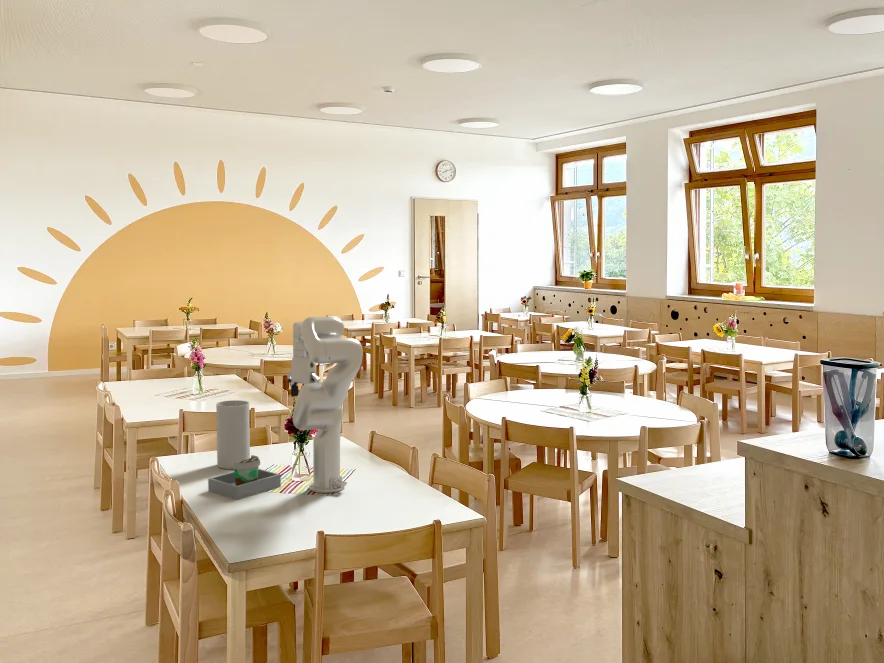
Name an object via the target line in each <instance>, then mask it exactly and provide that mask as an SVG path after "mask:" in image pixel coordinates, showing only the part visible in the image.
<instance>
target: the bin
mask: <svg viewBox="0 0 884 663" xmlns="http://www.w3.org/2000/svg"><path fill="white" fill-rule="evenodd" d="M281 476H282V475H281V474H280V473H277V472H273V471H269V470H265V469H261V468H258V480H256V481H252V482H249V483H245V484H242V485H238V486H236V485H235V473H234V471H233V472H228V473H224V474H220V475H217V476H216V475H215V476H212V477H208V478H207V482H208V483H207V487H208V492H210V493H214V494H217V495H220V496H224V497H227V498H230V499H233V500H241V499H244V498H247V497H250V496H253V495H257V494H261V493H264V492H267V491H271V490H273V489H277V488H278V489H279V488H281V486H282V484H281V481H282V480H281V478H282V477H281Z"/></svg>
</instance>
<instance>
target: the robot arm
mask: <svg viewBox="0 0 884 663" xmlns="http://www.w3.org/2000/svg"><path fill="white" fill-rule="evenodd" d="M344 332H345V324H344V323H343V321H342V320H341V319H340V318H338V317H336V316H308V317H306V318H305V319H304V320H302V321H296V322H294V323H293V325H292V344H293V345H292V354H293V355H292V358H291V366H290V372H288V373H287V374H286V377H287V380H288V383H289V387H290V390H291V391H290V396H291V398H292V397H293V398H294V397H296V402H295V405H294V408H293V412H292V422H293V426H294V427H295V428H296V429H298V430H300V431H306V430H307V431H309V430H317V431H316V433H315V435H314V437H313V442H312V444H313V445H312V448H313V449H312V450H313V451H312V452H313V454H312V456H313V457H312V458H313V459H312V462H313V469H312V472H313V475H312V476H313V478H312V479H313V482H311V483H309V485H308V489H309V490H310V491H311V492H314V493H319V494H320V493H322V494H328V493H329V494H330V493H336V492H341V491H342V490H343V489H345V488H346V486H347V484H348V483H347V481H346V480H345V481H343V476H341V430H342V429H341V428H342V421H343V417H344V411H343V410H344V409H343V407H342V405H344V403H345V400H346V397H347V395H348V391H349V389H350V387H351V384H352V381H353V380H354V378H355V377H356V376H357V374H358V372H359V371H360V369H361V366H362V363H363V356H364V351H363V346H362V343H361V342H360V341H359V340H357V339H356V338H351V337H342V336H343V335H344ZM316 364H318V365H324V364H325V365H326V364H336V365H334V367H333V368H331V369H330V370H329V372H328V373H327V374H326V377H325V380H324V381H321V378H320V377H319V376H318V375H317V365H316ZM298 384H303V385H302V386H301V387H300V389H299V385H298Z"/></svg>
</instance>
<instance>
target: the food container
mask: <svg viewBox="0 0 884 663" xmlns="http://www.w3.org/2000/svg"><path fill="white" fill-rule="evenodd" d="M259 466H261V460H260V457H259V456H257V455H253V454H252V455H251V454H250V459H247V460H243V461H241V462H240V463H234V465H233V469H232V470H233V472H234V473H235V485H236V486H238V485H242V484H245V483H249V482H252V481H256V480H258V469H259Z"/></svg>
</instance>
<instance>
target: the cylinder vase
mask: <svg viewBox="0 0 884 663" xmlns="http://www.w3.org/2000/svg"><path fill="white" fill-rule="evenodd" d="M215 407H216V413H215V414H216V459H217V460H216V461H217V462H216V463H217V464H216V465H217V466H218V468H219V469H222V470H224V469H225V470H234V469H233V465H234V463H240V462H241V461H243V460H247V459H250V458H251V444H250V443H251V441H250V440H251V437H250V434H251V433H250V402H249V401H247V400H236V399H235V400H232V399H231V400H223V401H218V402H216V406H215Z"/></svg>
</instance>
